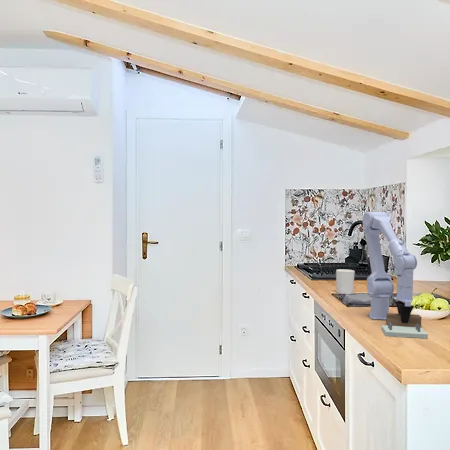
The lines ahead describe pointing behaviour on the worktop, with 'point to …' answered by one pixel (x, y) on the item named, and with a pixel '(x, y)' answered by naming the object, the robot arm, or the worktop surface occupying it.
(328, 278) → the worktop surface
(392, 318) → the walnut plank
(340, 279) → the candle holder
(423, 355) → the worktop surface
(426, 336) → the peg stand
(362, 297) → the stone block
